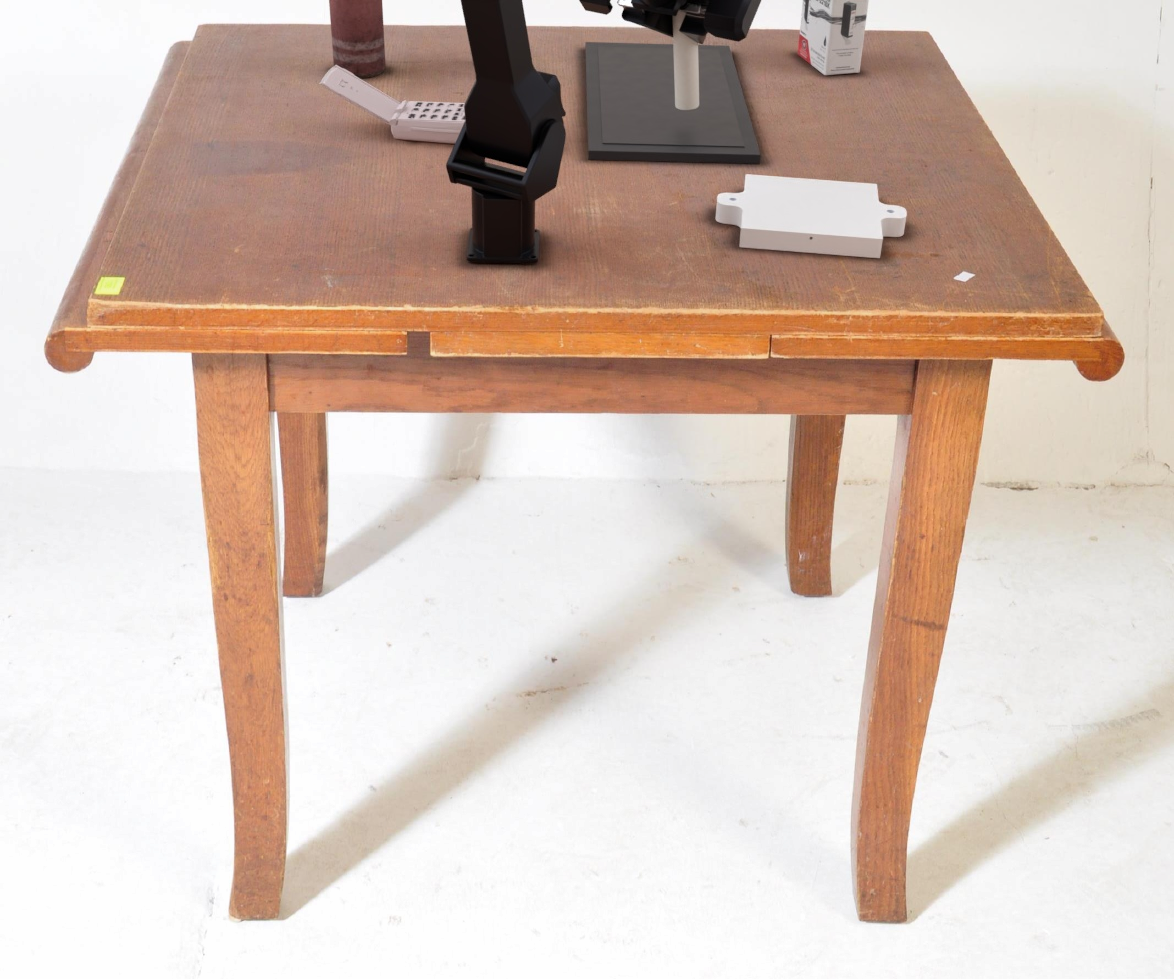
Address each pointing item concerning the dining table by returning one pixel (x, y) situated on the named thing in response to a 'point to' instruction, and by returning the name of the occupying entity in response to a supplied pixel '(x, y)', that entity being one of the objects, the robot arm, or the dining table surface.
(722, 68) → the tablet
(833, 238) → the mounting plate
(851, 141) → the dining table surface
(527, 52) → the robot arm
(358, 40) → the can
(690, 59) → the white plastic rod
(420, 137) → the mobile phone
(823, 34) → the ink box
